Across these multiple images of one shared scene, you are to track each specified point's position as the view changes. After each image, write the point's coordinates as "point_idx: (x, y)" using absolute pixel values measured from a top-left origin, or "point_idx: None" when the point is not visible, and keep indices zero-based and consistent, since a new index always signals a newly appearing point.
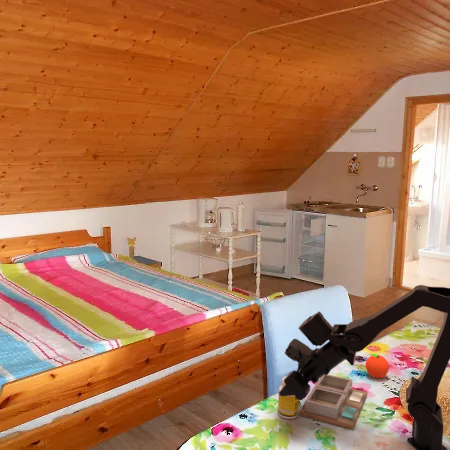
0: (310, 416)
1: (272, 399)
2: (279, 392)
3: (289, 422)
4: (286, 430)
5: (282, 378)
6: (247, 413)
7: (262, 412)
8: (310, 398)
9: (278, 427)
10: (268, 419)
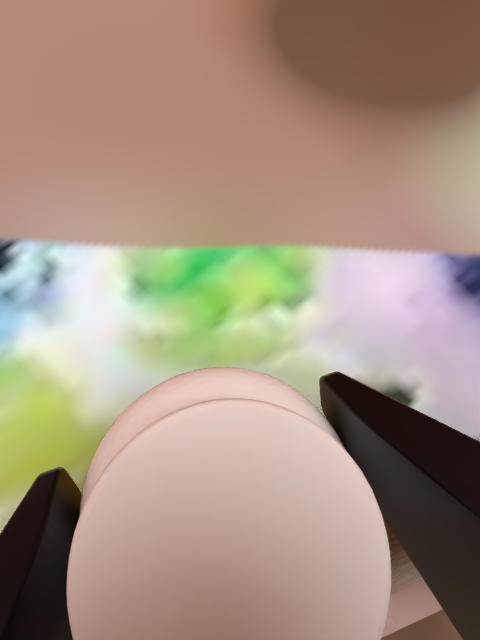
0: None
1: (287, 261)
2: (29, 491)
3: None
4: None
5: (169, 427)
6: (30, 253)
7: (109, 314)
8: (410, 616)
9: None
10: (63, 400)
